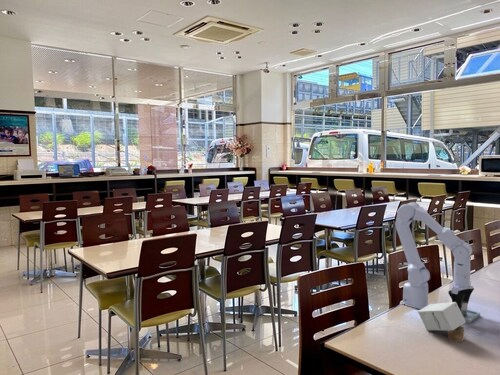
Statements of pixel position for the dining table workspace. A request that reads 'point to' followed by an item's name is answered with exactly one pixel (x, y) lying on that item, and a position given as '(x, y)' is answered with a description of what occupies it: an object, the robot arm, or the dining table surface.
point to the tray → (471, 316)
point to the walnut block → (457, 334)
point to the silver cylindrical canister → (464, 308)
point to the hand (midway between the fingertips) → (460, 307)
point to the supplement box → (442, 316)
